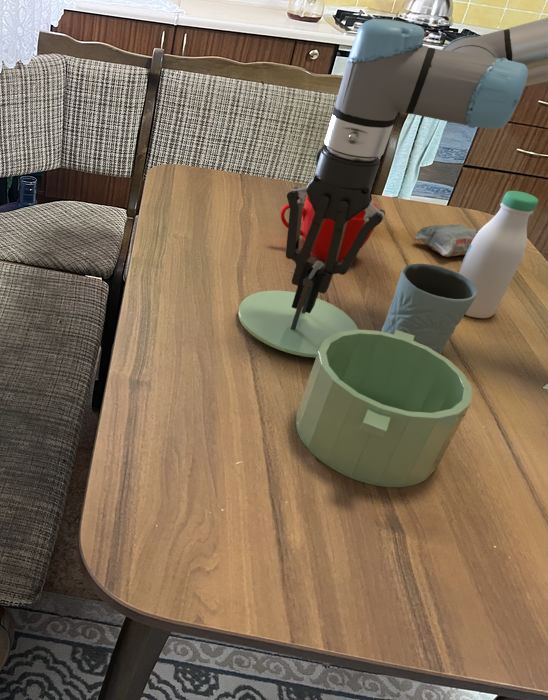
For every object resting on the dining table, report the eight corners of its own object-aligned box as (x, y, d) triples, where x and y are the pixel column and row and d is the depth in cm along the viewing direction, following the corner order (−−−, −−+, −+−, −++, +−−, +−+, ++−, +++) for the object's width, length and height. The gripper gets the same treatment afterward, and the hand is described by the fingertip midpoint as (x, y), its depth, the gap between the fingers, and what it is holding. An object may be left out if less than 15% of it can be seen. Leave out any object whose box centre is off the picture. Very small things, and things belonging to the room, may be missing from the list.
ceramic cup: (267, 232, 134) (279, 183, 128) (353, 243, 133) (370, 194, 127) (275, 262, 123) (290, 210, 117) (370, 274, 122) (389, 222, 117)
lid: (366, 321, 108) (388, 265, 102) (343, 376, 94) (366, 316, 89) (257, 285, 114) (272, 231, 108) (220, 332, 101) (235, 274, 95)
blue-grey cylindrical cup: (400, 325, 108) (428, 258, 101) (458, 359, 101) (493, 289, 95) (360, 341, 103) (387, 271, 96) (418, 377, 96) (451, 305, 90)
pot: (444, 415, 90) (478, 350, 84) (424, 525, 73) (464, 453, 67) (318, 370, 96) (340, 306, 90) (273, 462, 79) (297, 391, 73)
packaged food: (488, 260, 132) (499, 236, 129) (439, 264, 128) (449, 240, 126) (456, 241, 139) (465, 218, 136) (408, 244, 135) (417, 221, 132)
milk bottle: (503, 320, 113) (562, 207, 101) (459, 318, 112) (514, 204, 100) (477, 296, 119) (530, 187, 108) (436, 295, 118) (485, 184, 107)
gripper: (290, 145, 89) (249, 301, 102) (405, 173, 83) (346, 333, 97) (304, 132, 94) (263, 282, 107) (413, 157, 89) (356, 311, 102)
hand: (302, 306), depth 102 cm, fingers closed on lid
